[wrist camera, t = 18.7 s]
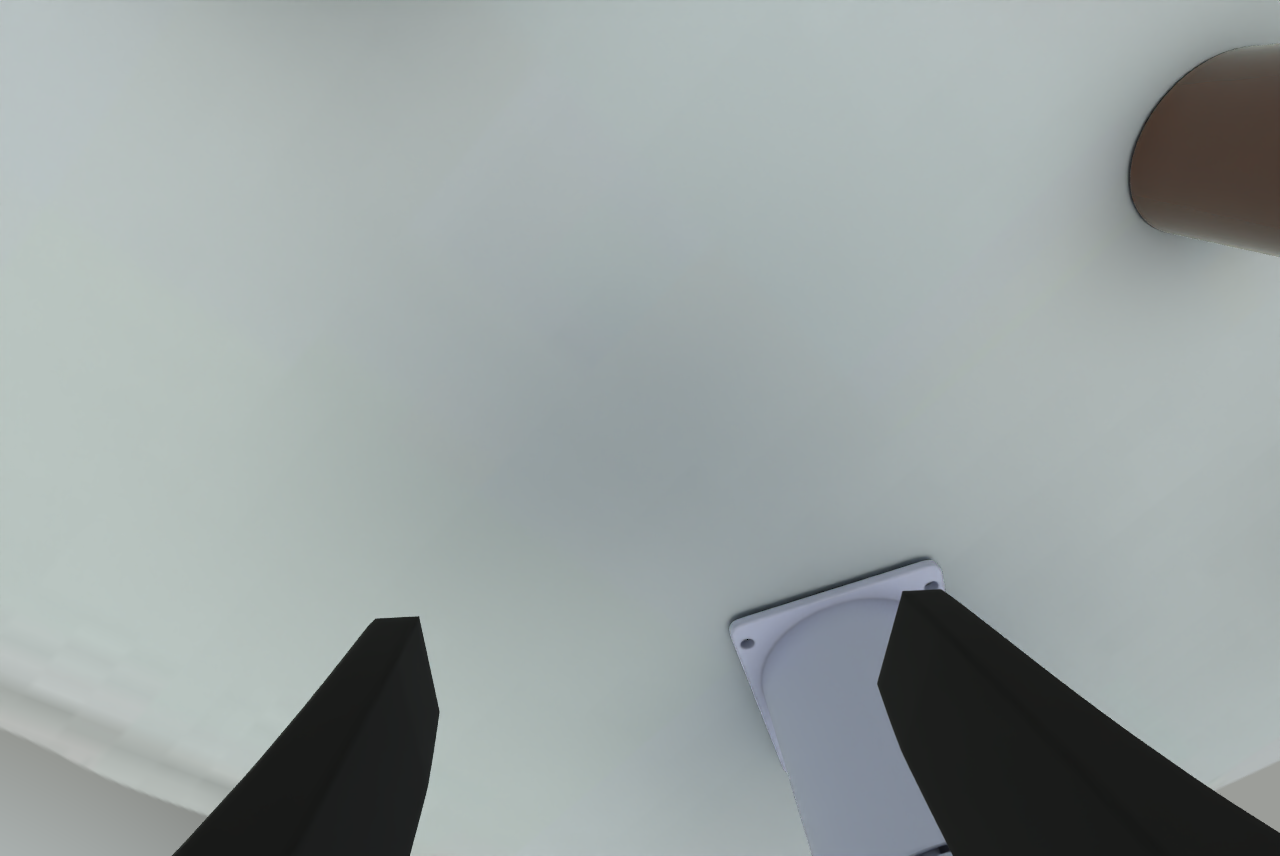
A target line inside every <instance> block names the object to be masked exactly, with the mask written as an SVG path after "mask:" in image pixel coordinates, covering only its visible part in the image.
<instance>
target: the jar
mask: <svg viewBox="0 0 1280 856" xmlns="http://www.w3.org/2000/svg"><path fill="white" fill-rule="evenodd" d="M1130 190H1131V195H1132V199H1133V202H1134V204H1135V207H1136V209H1137V210H1138V212H1139V214H1140V215H1141V216H1142V217H1143V219H1144V220H1145V221H1146V222H1147V223H1148V224H1150V225H1151V226H1152V227H1154V228H1156V229H1158V230H1160V231H1162V232H1166V233H1170V234H1174V235H1178V236H1183V237H1188V238H1192V239H1197V240H1201V241H1206V242H1211V243H1215V244H1220V245H1224V246H1229V247H1234V248H1238V249H1243V250H1247V251H1252V252H1257V253H1261V254H1266V255H1270V256H1275V257H1280V43H1278V44H1267V45H1257V46H1247V47H1242V48H1236V49H1233V50H1230V51H1227V52H1224V53H1222V54H1220V55H1217V56H1215V57H1213V58H1211V59H1209V60H1208V61H1206V62H1204V63H1203V64H1201V65H1199V66H1198V67H1196V68H1195V69H1194V70H1192V71H1191V72H1189V73H1188V74H1187V75H1186V76H1184V77H1183V78H1182V79H1181V80H1180V81H1179V82H1178V83H1177V84H1175V85H1174V86H1173V88H1172V89H1171V90H1170V91H1169V92H1168V93H1167V94H1166V95H1165V96H1164V97H1163V99H1162V100H1161V101H1160V102H1159V104H1158V105H1157V106H1156V108H1155V109H1154V111H1153V112H1152V114H1151V115H1150V117H1149V118H1148V120H1147V122H1146V124H1145V126H1144V128H1143V129H1142V131H1141V134H1140V136H1139V139H1138V141H1137V143H1136V147H1135V150H1134V153H1133V157H1132V162H1131V167H1130Z"/></svg>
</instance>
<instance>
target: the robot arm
mask: <svg viewBox="0 0 1280 856" xmlns="http://www.w3.org/2000/svg"><path fill="white" fill-rule="evenodd" d="M929 582H931V583H929ZM927 583H929V584H927ZM926 584H927V585H926ZM729 632H730V636H731V639H732V642H733V644H734V647H735V649H736V652H737V654H738V657H739V659H740V662H741V664H742V667H743V669H744V672H745V675H746V677H747V680H748V682H749V685H750V687H751V690H752V692H753V695H754V697H755V700H756V702H757V705H758V707H759V710H760V712H761V715H762V717H763V720H764V722H765V725H766V727H767V730H768V732H769V735H770V737H771V740H772V743H773V745H774V748H775V750H776V753H777V755H778V758H779V760H780V763H781V765H782V768H783V770H784V771H785V772H787V773H788V777H789V780H790V783H791V787H792V790H793V793H794V797H795V800H796V803H797V807H798V810H799V813H800V817H801V820H802V824H803V827H804V830H805V834H806V837H807V840H808V844H809V847H810V850H811V854H812V856H1280V833H1279V832H1277V831H1276V830H1274V829H1273V828H1271V827H1269V826H1268V825H1266V824H1265V823H1263V822H1262V821H1260V820H1258V819H1257V818H1255V817H1254V816H1252V815H1250V814H1249V813H1247V812H1246V811H1244V810H1243V809H1241V808H1239V807H1238V806H1236V805H1235V804H1233V803H1232V802H1230V801H1229V800H1227V799H1226V798H1224V797H1222V796H1221V795H1219V794H1218V793H1216V792H1215V791H1213V790H1212V789H1210V788H1209V787H1207V786H1206V785H1204V784H1203V783H1201V782H1200V781H1198V780H1197V779H1196V778H1194V777H1193V776H1191V775H1190V774H1188V773H1187V772H1185V771H1184V770H1182V769H1181V768H1180V767H1178V766H1177V765H1175V764H1174V763H1172V762H1171V761H1170V760H1168V759H1167V758H1165V757H1164V756H1162V755H1161V754H1160V753H1158V752H1157V751H1155V750H1154V749H1152V748H1151V747H1150V746H1148V745H1147V744H1145V743H1144V742H1143V741H1141V740H1140V739H1138V738H1137V737H1135V736H1134V735H1133V734H1131V733H1130V732H1128V731H1127V730H1126V729H1124V728H1123V727H1122V726H1120V725H1119V724H1117V723H1116V722H1115V721H1113V720H1112V719H1111V718H1109V717H1108V716H1106V715H1105V714H1104V713H1102V712H1101V711H1100V710H1098V709H1097V708H1096V707H1094V706H1093V705H1092V704H1090V703H1089V702H1088V701H1086V700H1085V699H1084V698H1082V697H1081V696H1080V695H1078V694H1077V693H1076V692H1074V691H1073V690H1072V689H1070V688H1069V687H1068V686H1066V685H1065V684H1064V683H1062V682H1061V681H1060V680H1059V679H1057V678H1056V677H1055V676H1053V675H1052V674H1051V673H1049V672H1048V671H1047V670H1046V669H1044V668H1043V667H1042V666H1040V665H1039V664H1038V663H1036V662H1035V661H1034V660H1033V659H1031V658H1030V657H1029V656H1027V655H1026V654H1025V653H1024V652H1022V651H1021V650H1020V649H1019V648H1017V647H1016V646H1015V645H1013V644H1012V643H1011V642H1010V641H1008V640H1007V639H1006V638H1004V637H1003V636H1002V635H1001V634H999V633H998V632H997V631H996V630H994V629H993V628H992V627H990V626H989V625H988V624H987V623H985V622H984V621H983V620H981V619H980V618H979V617H978V616H976V615H975V614H974V613H972V612H971V611H970V610H969V609H967V608H966V607H965V606H963V605H962V604H961V603H959V602H958V601H957V600H955V599H954V598H953V597H951V596H950V595H949V594H947V593H946V591H945V584H944V578H943V572H942V570H941V568H940V567H939V565H938V564H937V563H936V562H935V561H932V560H925V561H921V562H918V563H914V564H911V565H908V566H905V567H902V568H898V569H895V570H892V571H889V572H886V573H883V574H879V575H876V576H873V577H870V578H867V579H863V580H860V581H857V582H854V583H851V584H847V585H844V586H841V587H838V588H835V589H832V590H828V591H825V592H822V593H819V594H816V595H812V596H809V597H806V598H803V599H800V600H797V601H793V602H790V603H787V604H784V605H781V606H777V607H774V608H771V609H768V610H765V611H761V612H758V613H755V614H752V615H749V616H746V617H742V618H739V619H737V620H735V621H733V622H732V623H731V624H730V627H729ZM745 639H749V640H747V641H743V640H745ZM438 719H439V707H438V702H437V698H436V693H435V688H434V684H433V679H432V675H431V670H430V665H429V661H428V656H427V651H426V647H425V642H424V637H423V633H422V628H421V623H420V619H419V616H418V617H399V618H380V619H375V620H374V621H373V622H372V623H371V624H370V625H369V626H368V627H367V628H366V629H365V631H364V632H363V633H362V635H361V636H360V637H359V638H358V640H357V641H356V642H355V643H354V645H353V646H352V647H351V649H350V650H349V651H348V652H347V654H346V655H345V656H344V657H343V659H342V660H341V661H340V663H339V664H338V665H337V666H336V668H335V669H334V670H333V671H332V673H331V674H330V675H329V676H328V678H327V679H326V680H325V681H324V683H323V684H322V685H321V686H320V688H319V689H318V690H317V691H316V692H315V694H314V695H313V696H312V697H311V699H310V700H309V701H308V702H307V704H306V705H305V706H304V707H303V709H302V710H301V711H300V712H299V713H298V714H297V716H296V717H295V718H294V719H293V720H292V722H291V723H290V724H289V725H288V726H287V728H286V729H285V730H284V731H283V732H282V733H281V735H280V736H279V737H278V738H277V739H276V741H275V742H274V743H273V744H272V745H271V746H270V748H269V749H268V750H267V751H266V752H265V754H264V755H263V756H262V757H261V758H260V760H259V761H258V762H257V763H256V764H255V765H254V766H253V768H252V769H251V770H250V771H249V772H248V773H247V774H246V776H245V777H244V778H243V779H242V780H241V781H240V782H239V783H238V784H237V785H236V787H235V788H234V789H233V790H232V791H231V792H230V793H229V794H228V795H227V796H226V798H225V799H224V800H223V801H222V802H221V803H220V804H219V805H218V806H217V807H216V809H215V810H214V811H213V812H212V813H211V814H210V815H209V816H208V817H207V818H206V820H205V821H204V822H203V823H202V824H201V825H200V826H199V827H198V828H197V829H196V831H195V832H194V833H193V834H192V835H191V836H190V837H189V838H188V839H187V840H186V842H185V843H184V844H183V845H182V846H181V847H180V848H179V849H178V850H177V851H176V852H175V853H174V854H173V855H172V856H410V853H411V849H412V846H413V842H414V838H415V834H416V830H417V827H418V823H419V819H420V815H421V811H422V808H423V804H424V800H425V796H426V792H427V788H428V783H429V777H430V771H431V765H432V759H433V753H434V746H435V739H436V732H437V726H438Z"/></svg>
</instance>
